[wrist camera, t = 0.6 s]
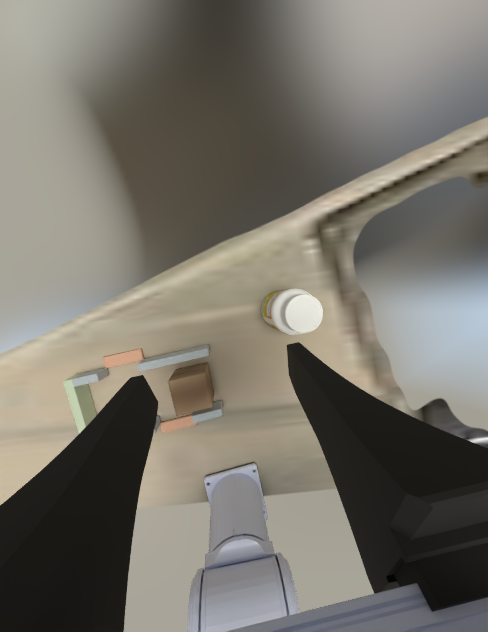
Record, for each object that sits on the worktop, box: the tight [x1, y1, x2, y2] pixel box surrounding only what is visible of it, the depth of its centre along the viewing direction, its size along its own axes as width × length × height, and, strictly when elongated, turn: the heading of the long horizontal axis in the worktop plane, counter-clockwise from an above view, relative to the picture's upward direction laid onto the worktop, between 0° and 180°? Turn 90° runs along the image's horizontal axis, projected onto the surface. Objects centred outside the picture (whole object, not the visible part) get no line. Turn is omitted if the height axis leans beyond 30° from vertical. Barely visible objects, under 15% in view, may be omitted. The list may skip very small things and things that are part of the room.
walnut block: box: [168, 362, 214, 416], centre depth 28 cm, size 4×4×4 cm
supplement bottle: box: [261, 289, 323, 335], centre depth 26 cm, size 5×5×10 cm
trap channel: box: [63, 345, 223, 434], centre depth 29 cm, size 12×18×2 cm
